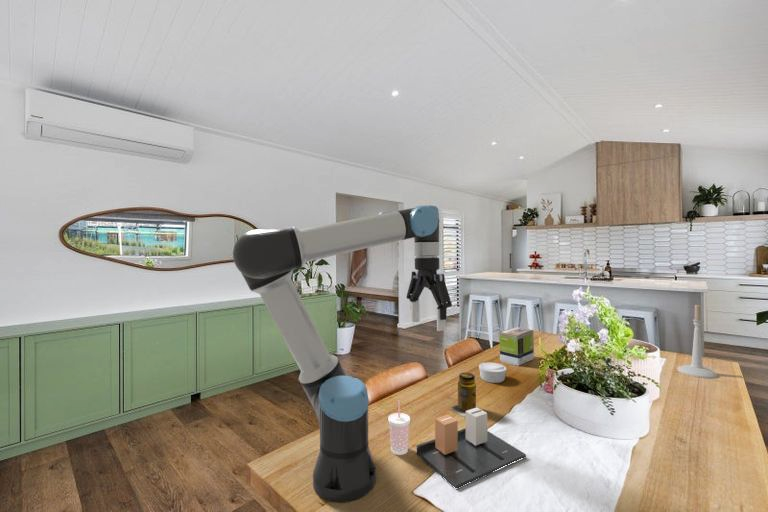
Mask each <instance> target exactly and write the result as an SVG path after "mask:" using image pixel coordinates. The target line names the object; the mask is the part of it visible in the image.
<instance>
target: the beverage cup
mask: <svg viewBox="0 0 768 512" xmlns="http://www.w3.org/2000/svg"><path fill="white" fill-rule="evenodd" d="M397 403H398V404H397V407H398V409H397V411H398V412H395V413H391V414H389V415H388V416H387V417H388V418H387V419H388V423H389V425H388V426H389V438H390V439H389V441H390V450H391V453H392V454H394V455H397V456H401V455H406V454H407V453H408V450H409V433H410V422H411V417H410V415H408V414H406V413H403V412H401V400H400V399H398V400H397Z"/></svg>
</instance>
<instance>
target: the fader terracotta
mask: <svg viewBox="0 0 768 512" xmlns="http://www.w3.org/2000/svg"><path fill="white" fill-rule="evenodd" d="M434 423H435V424H434V425H435V427H434V431H435V432H434V433H435V436H434V437H435V438H434V439H435V447H436V448H437V449H438V450H439V451H441V452H442V453H443V454H444V455H446V454H448V453H451V452H454V451H456V450H458V431H459V430H458V427H459V426H458V424H459V423H458V420H457V419H456V418H454V417H453V416H451V415H449V414H446V415H442V416H441V415H440V416H439V417H436V418H434Z"/></svg>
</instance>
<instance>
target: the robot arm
mask: <svg viewBox="0 0 768 512" xmlns="http://www.w3.org/2000/svg"><path fill="white" fill-rule="evenodd" d="M413 238H414V239H413ZM409 239H413V240H414V244H413V245H414V250H413V251H414V256H416V257H415V258H414V269H415V270H416V271H411V278H410V282H409V285H408V286H409V287H408V289H407V293H406V299H407V300H409V301H410V315H411V316H410V318H411V319H410V322H411V323H417V322H418V323H419V322H420V321H421V319H420V296H421V295H422V293H423V291H424V288H427V289H428V290H429V291H430V292H431V294H432V296H433V299H434V300H435V303H436V305H437V308H436V331H437V332H442V331H447V309H448V308H451V307H452V306H453V304H452V300H451V297H450V294H449V291H448V288H447V284H446V279H445V273H438V272H437V271H438V270H440V257H438V256H439V255H440V213H439V208H438V206H436V205H431V204H430V205H418V206H415V207H413V208H407V209H401V210H396V211H389V210H388V211H381V212H379V213H378V214H376V215H371V216H364V217H360V218H359V217H358V218H353V219H348V220H343V221H338V222H333V223H327V224H323V225H317V226H311V227H307V228H306V227H305V228H301V229H298V228H296V227H295V226H289V227H282V228H269V229H268V228H263V229H262V228H260V229H259V228H257V229H256V228H255V229H251V230H248V231H247V232H245V233H243V234H242V235H241V236H240V237H239V238H238V239H237V240H236V242H235V243H234V246H233V250H232V259H233V263H234V264H235V266H236V268H237V270H238V271H239V272H240V273H241V275H242V276H243V278H244V281H245V282H246V285H247V287H248V288H249V290H250V292H253V293H256V294H258V295H260V296H261V299H262V301H263V303H264V305H265V306H266V309H267V310H268V312H269V314H270V316H271V318H272V320H273V322H274V324H275V325H276V327H277V329H278V331H279V333H280V334H281V336H282V338H283V340H284V342H285V344H286V346H287V348H288V349H289V352H290V353H291V356H292V357H293V359H294V360H295V363H296V364H297V366H298V368H299V371H300V372H299V376H298V382H300V385H301V387H302V389H303V391H304V393H306V397H307V398H308V400H309V402H310V403H311V405H312V408H313V410H314V413H315V415H316V417H317V420H318V423H319V453H318V456H317V458H316V463H315V465H314V466H315V467H314V469H313V472H312V485H313V490H314V491H315V493H316V494H317V495H318V496H319V497H320V498H321V499H323V500H326V501H329V502H334V503H346V502H347V503H348V502H352V501H355V500H359V499H360V498H363V497H365V496H366V495H367V494H369V492H371V491H372V490H373V488H374V487H375V484H376V482H377V468H376V464H375V462H374V459H373V456H372V453H371V450H370V447H369V403H370V400H369V394H368V388H367V386H366V383H364V382H363V380H361V379H359V378H357V377H353V376H350V375H347V374H346V371H345V370H344V368H343V365H342V364H341V361H340V360H339V358H338V356H336V355H333V354H330V353H329V350H328V349H327V347H326V345H325V343H324V341H323V339H322V337H321V335H320V333H319V332H318V330H317V327H316V326H315V323H314V321H313V320H312V317H311V315H310V314H309V312H308V309H307V308H306V306H305V304H304V302H303V299H302V298H301V295H300V294H299V292H298V290H297V287H296V286H295V284H294V282H293V280H292V276H293V272H294V270H298V269H302V268H304V266H305V264H306V263H309V262H313V261H316V260H320V259H321V260H322V259H325V258H330V257H334V256H339V255H343V254H347V253H351V252H356V251H359V250H364V249H368V248H369V249H370V248H374V247H377V246H382V245H386V244H390V243H395V242H399V241H404V240H409Z"/></svg>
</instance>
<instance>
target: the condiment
mask: <svg viewBox="0 0 768 512" xmlns="http://www.w3.org/2000/svg"><path fill="white" fill-rule="evenodd" d="M475 376H476V375H474V373H471V372H460V373H459V376H458V377H459V378H458V382H457V404H456V405H453V406H449V407H448V409H449V410H451V411H452V412H454V413H455V414H457V415H460V416H461V417H463V418H466V411H467V410H470V409H474V408H477V384H476V380H475V379H476V377H475Z"/></svg>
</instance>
